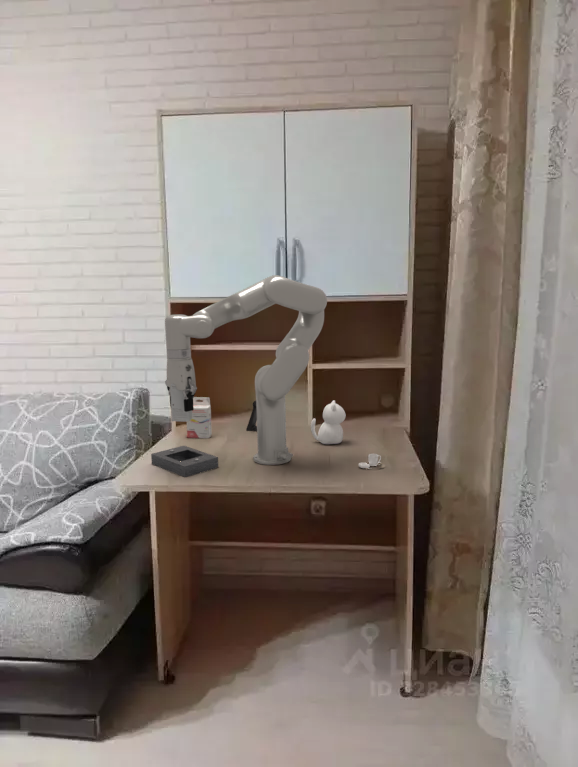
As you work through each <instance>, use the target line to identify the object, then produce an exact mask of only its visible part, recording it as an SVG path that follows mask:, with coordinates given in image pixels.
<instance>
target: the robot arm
mask: <svg viewBox="0 0 578 767" xmlns="http://www.w3.org/2000/svg"><path fill="white" fill-rule="evenodd" d="M327 303H328V299H327V294H326V293H325V291H323V290H322V289H321V288H319V287H317V286H313V285H310V284H306V283H303V282H300V281H296V280H293V279H290V278H287V277H285V276H282V275H279V274H278V275H277V274H274V275H270V276H267V277H265V278H263V279H262V280H260V281H258V282H255V283H253V284H252V285H249V286H247V287H246V288H243V289H242V290H239V291H238V292H235V293H233V294H231V295H229V296H227V297H225V298H223V299H221V300H219V301H216V302H214V303H212V304H210V305H208V306H207V307H206V306H205V307H204V308H202V309H201V310H198V311H196V312H195V313H194V314H192V315H186V314H168V315H167V316H166V317H165V318H164V330H165V332H164V333H165V344H166V347H165V348H166V349H165V350H166V379H165V381H164V384H165V386H166V389H167V391H168V395H169V407H170V408H171V388H170V385H171V384H175V386H176V389H177V390H180V391H183V394H184V397H185V399H184V411H185V412H188V411H192V410H193V409H194V407H193V398H194V397H195V395H196V392H197V389H198V387H197V382H196V372H195V366H194V362H193V358H192V349H191V338H195V339H206V338H209V337H210V336H211V335H212V334H213V333H214V331H215V329H217V328H219V327H221V326H223V325H225V324H227V323H230V322H232V321H239V320H244V319H247V318H249V317H252V316H254V315H255V314H257V313H259V312H261V311H264V310H266V309H267V308H269V307H272V306H273V305H280V306H282V307H285V308H288V309H291V310H295V311H297V312H298V315H297V318H296V321H295V322H294V324H293V326H292V327H291V328H290V330H289V332H288V333H286V335H285V337H284V338H283V339H282V340H281V342H280V343H279V345H277V347H276V350H275V359H274V360H273V362H272V363H271V364H267V365H264V366H261V367H260V368H259V369H258V370H257V372H256V373H255V377H254V391H255V400H256V407H257V421H256V426H257V431H256V433H257V435H256V436H257V437H256V438H257V441H256V442H257V452H256V453H255V454H254V455H253V456H252V457H253V459H252V460H253V462H255V463H256V464H260V465H266V466H274V465H275V466H276V465H283V464H285V463H288V462H290V461H291V459H292V458H293V457H294V453H292V452H289V447H288V446H287V423H286V422H287V421H286V418H287V417H286V416H287V415H286V410H287V409H286V408H287V407H286V395H288V393H289V392H290V391H291V389H292V388H293V387H294V385H295V384H296V383H297V381H298V380H299V378H300V377H301V376H302V374H303V373H304V372H305V370H306V368H307V366H308V365H309V361H310V353H309V350H310V348H311V347H312V345H313V344H314V342H315V341H316V339H317V338H318V337H319V335H320V333H321V332H322V329H323V326H324V323H325V309H326V307H327ZM188 385H189V389H186V387H188ZM187 391H189V393H188V394H187Z"/></svg>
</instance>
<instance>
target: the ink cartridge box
mask: <svg viewBox="0 0 578 767" xmlns="http://www.w3.org/2000/svg"><path fill="white" fill-rule="evenodd" d="M210 399H211V398H210V397H209V396H208V397H205V396H204V397H203V396H200V397H199V396H198V397H197V396H194V398H193V407H194V409H193V410H192V419H191V420H190V421H188V422H186V436H187V438H188V439H209V438H211V436H212V430H213V429H212V409H211V408H212V407H211V400H210Z"/></svg>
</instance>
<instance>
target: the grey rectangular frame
mask: <svg viewBox="0 0 578 767" xmlns="http://www.w3.org/2000/svg"><path fill="white" fill-rule="evenodd" d="M150 454H151V455H150V457H151V458H150V459H151V465H153V466H156V467H158V468H160V469H162V470H165V471H168V472H171V473H174V474H175V475H178V476H181V477H183V478H187V477H191V476H194V475H197V474H201V473H205V472H207V470H208V471H211V469H212V470H215V469H218V468H219V457H218V456H216V455H213V454H209V453H208V452H206V451H205V452H204V451H202V450H198V449H196V448H192V447H190V446H187V445H180V446H176V447H172V448H169V449H165V450H161V451H157V452H153V453H150ZM180 461H181V462H180ZM217 467H218V468H217ZM204 471H205V472H204ZM200 472H201V473H200Z"/></svg>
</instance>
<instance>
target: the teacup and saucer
mask: <svg viewBox="0 0 578 767" xmlns="http://www.w3.org/2000/svg"><path fill="white" fill-rule="evenodd" d="M367 458H368V459H367V460H368V462H369V464H367V463H366V462H359V463H358V467H359V468H360V469H361V468H362V469H364V468H368V469H370V468H371V467H370V466H376V467H377V465H379V464H378V463H381V459H382V456H381V455H380V454H377V453H368V456H367Z"/></svg>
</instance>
